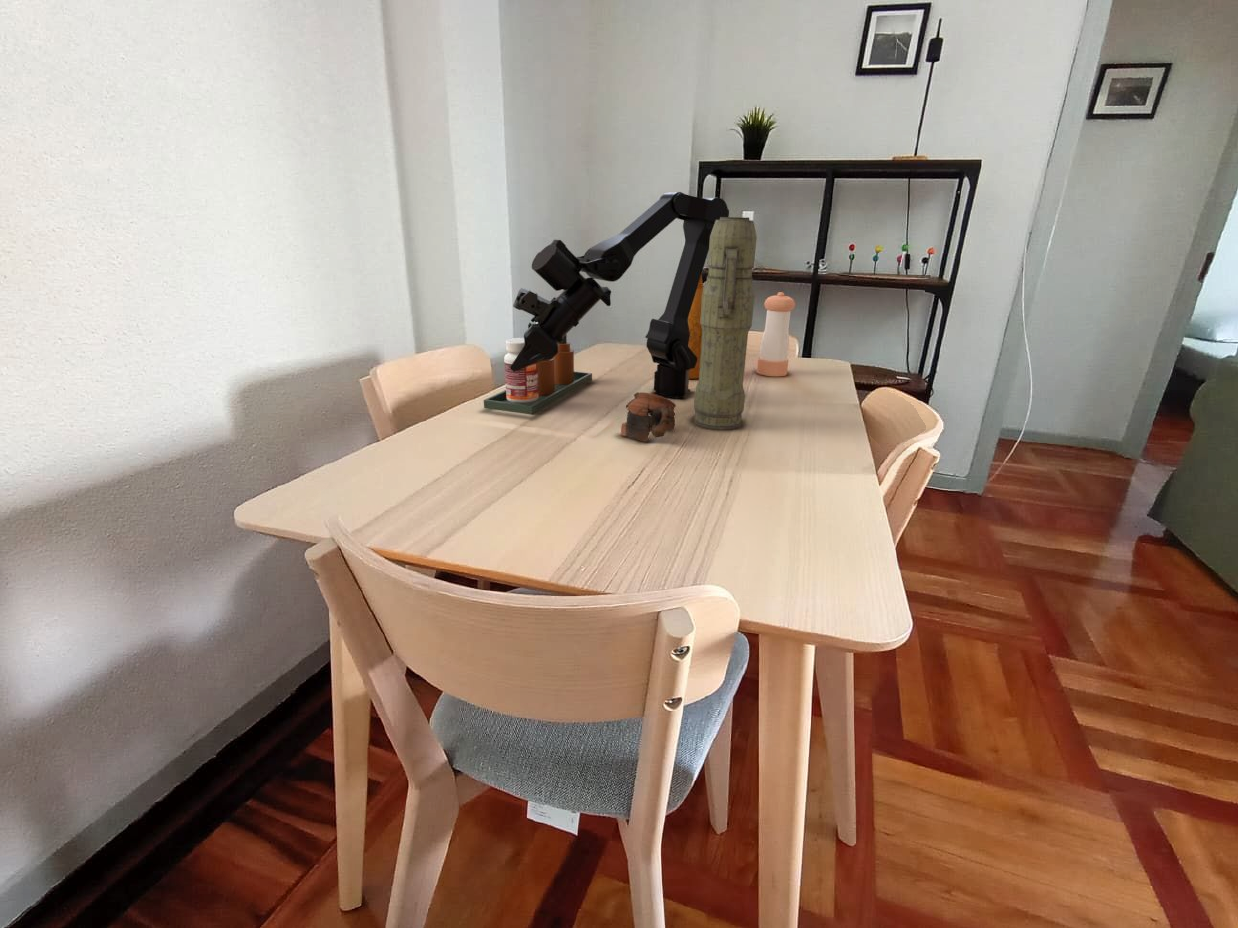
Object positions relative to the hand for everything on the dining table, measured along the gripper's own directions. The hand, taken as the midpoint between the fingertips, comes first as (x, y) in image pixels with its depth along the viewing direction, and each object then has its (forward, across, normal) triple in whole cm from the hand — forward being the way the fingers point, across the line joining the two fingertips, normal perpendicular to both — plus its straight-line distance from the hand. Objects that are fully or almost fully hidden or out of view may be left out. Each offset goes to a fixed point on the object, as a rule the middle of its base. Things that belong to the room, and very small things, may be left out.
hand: (513, 365), depth 114 cm
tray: (+3, -9, +9) cm, 13 cm away
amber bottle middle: (+2, -9, +9) cm, 12 cm away
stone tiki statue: (-20, +8, +33) cm, 40 cm away
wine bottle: (-21, -28, +33) cm, 48 cm away
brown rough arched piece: (-11, +16, +24) cm, 30 cm away
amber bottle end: (-1, -17, +12) cm, 21 cm away
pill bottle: (+4, 0, +6) cm, 7 cm away
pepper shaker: (-36, -30, +48) cm, 67 cm away
